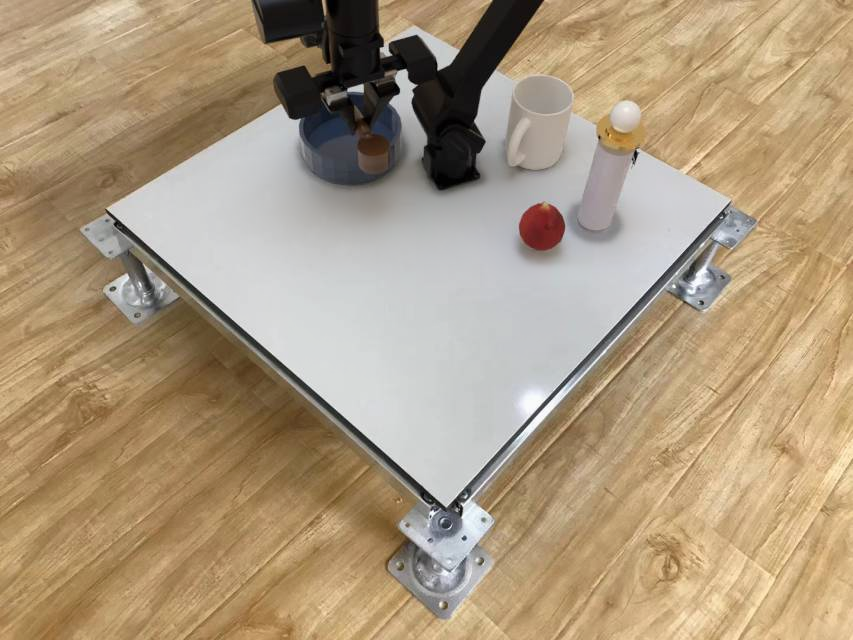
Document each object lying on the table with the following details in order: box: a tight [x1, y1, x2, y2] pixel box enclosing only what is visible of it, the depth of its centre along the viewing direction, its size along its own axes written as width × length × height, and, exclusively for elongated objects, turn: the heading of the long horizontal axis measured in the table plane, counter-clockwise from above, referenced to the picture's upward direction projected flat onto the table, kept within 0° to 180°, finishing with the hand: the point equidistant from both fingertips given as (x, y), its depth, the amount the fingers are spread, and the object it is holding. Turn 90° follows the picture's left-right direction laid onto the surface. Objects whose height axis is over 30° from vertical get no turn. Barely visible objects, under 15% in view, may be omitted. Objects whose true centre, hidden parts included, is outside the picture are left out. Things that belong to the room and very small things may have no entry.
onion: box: [518, 201, 566, 252], centre depth 98 cm, size 6×6×8 cm
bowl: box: [298, 91, 403, 186], centre depth 108 cm, size 14×14×4 cm
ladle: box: [354, 106, 390, 174], centre depth 96 cm, size 10×4×3 cm, turn 25°
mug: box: [504, 74, 575, 171], centre depth 106 cm, size 12×8×10 cm
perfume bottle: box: [576, 99, 647, 231], centre depth 95 cm, size 6×6×20 cm
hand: (360, 130), depth 97 cm, fingers closed on ladle, 2 cm apart
